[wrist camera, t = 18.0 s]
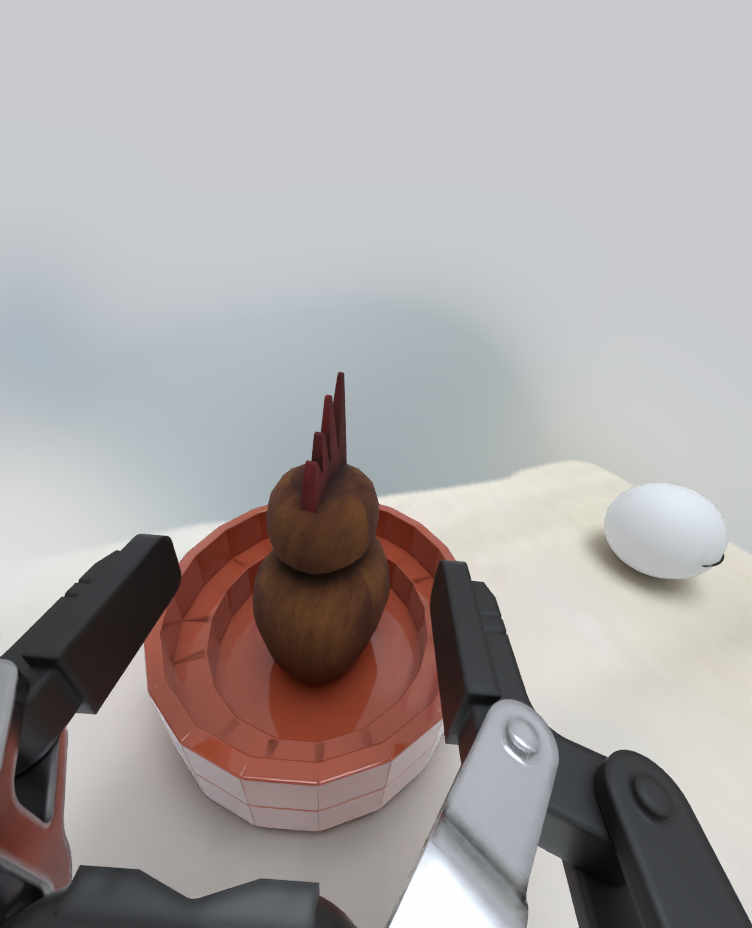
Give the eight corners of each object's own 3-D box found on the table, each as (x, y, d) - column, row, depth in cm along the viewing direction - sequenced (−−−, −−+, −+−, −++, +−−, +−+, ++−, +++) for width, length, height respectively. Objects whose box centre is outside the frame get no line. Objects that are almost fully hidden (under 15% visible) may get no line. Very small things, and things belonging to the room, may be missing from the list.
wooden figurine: (324, 579, 23) (325, 355, 15) (396, 625, 20) (440, 384, 13) (240, 660, 18) (181, 386, 10) (322, 734, 15) (322, 444, 8)
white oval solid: (666, 616, 24) (729, 538, 20) (571, 546, 29) (607, 475, 25) (726, 571, 28) (788, 501, 24) (634, 518, 33) (672, 454, 30)
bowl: (94, 820, 13) (33, 762, 10) (243, 544, 26) (234, 486, 23) (481, 851, 13) (523, 802, 10) (436, 561, 26) (449, 505, 24)
